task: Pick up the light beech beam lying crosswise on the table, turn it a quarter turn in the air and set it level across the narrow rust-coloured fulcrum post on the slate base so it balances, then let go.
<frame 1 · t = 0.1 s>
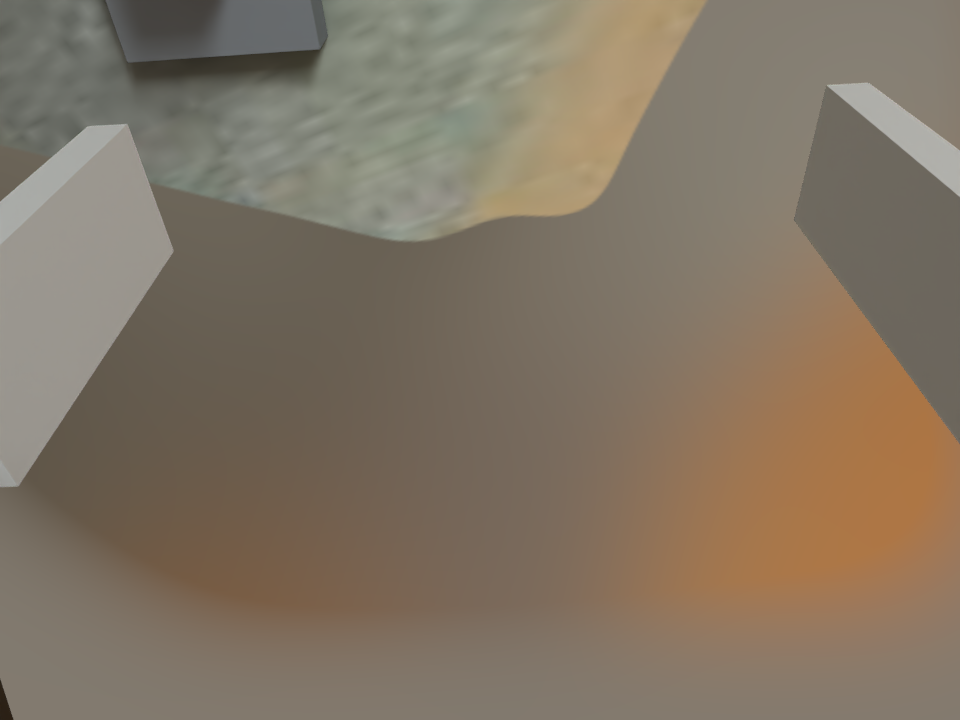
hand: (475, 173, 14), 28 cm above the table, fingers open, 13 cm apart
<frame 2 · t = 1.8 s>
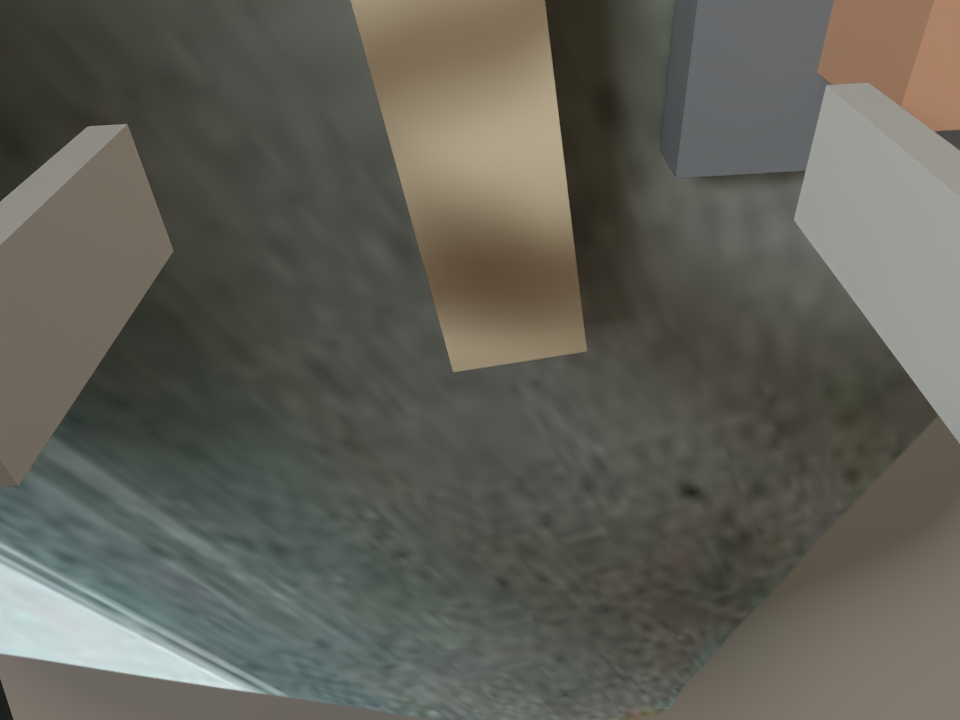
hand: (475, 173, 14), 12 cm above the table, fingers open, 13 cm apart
beam: (459, 11, 24), on the table
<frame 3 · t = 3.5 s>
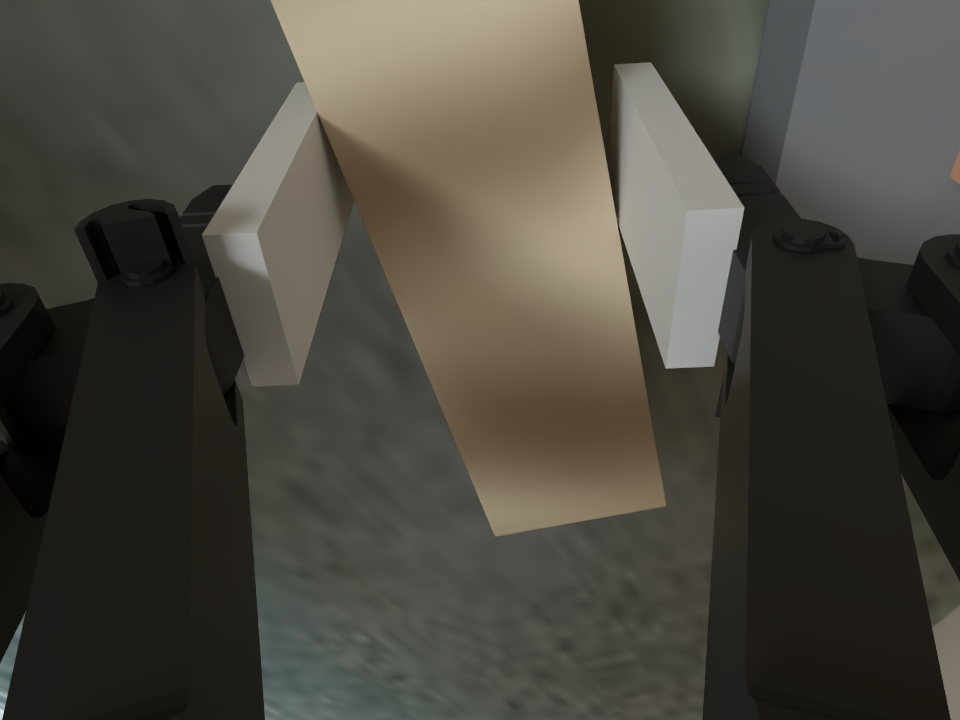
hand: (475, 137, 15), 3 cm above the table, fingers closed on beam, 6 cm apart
beam: (475, 90, 18), on the table, touching gripper
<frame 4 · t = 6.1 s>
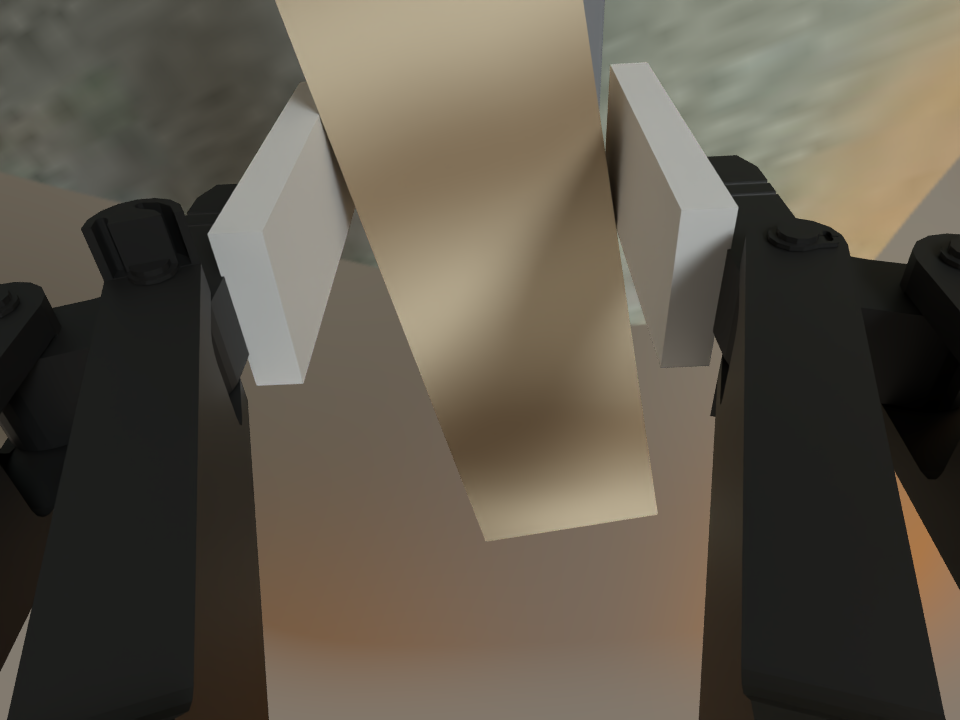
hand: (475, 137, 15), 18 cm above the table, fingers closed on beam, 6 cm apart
beam: (476, 94, 18), point 15 cm above the table, touching gripper
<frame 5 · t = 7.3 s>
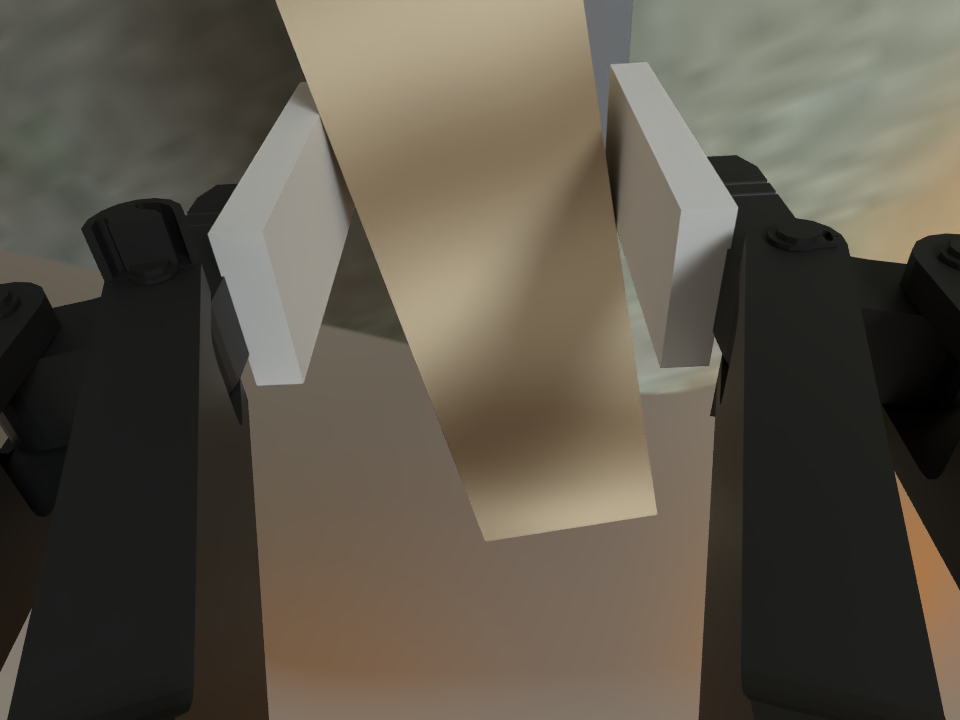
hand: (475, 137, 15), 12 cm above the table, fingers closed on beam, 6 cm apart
fulcrum: (476, 4, 25), on the table
beam: (476, 94, 18), point 9 cm above the table, touching gripper
when the fingers open (12 cm above the table, at t = 8.5 s): beam drops 1 cm, resting on fulcrum.
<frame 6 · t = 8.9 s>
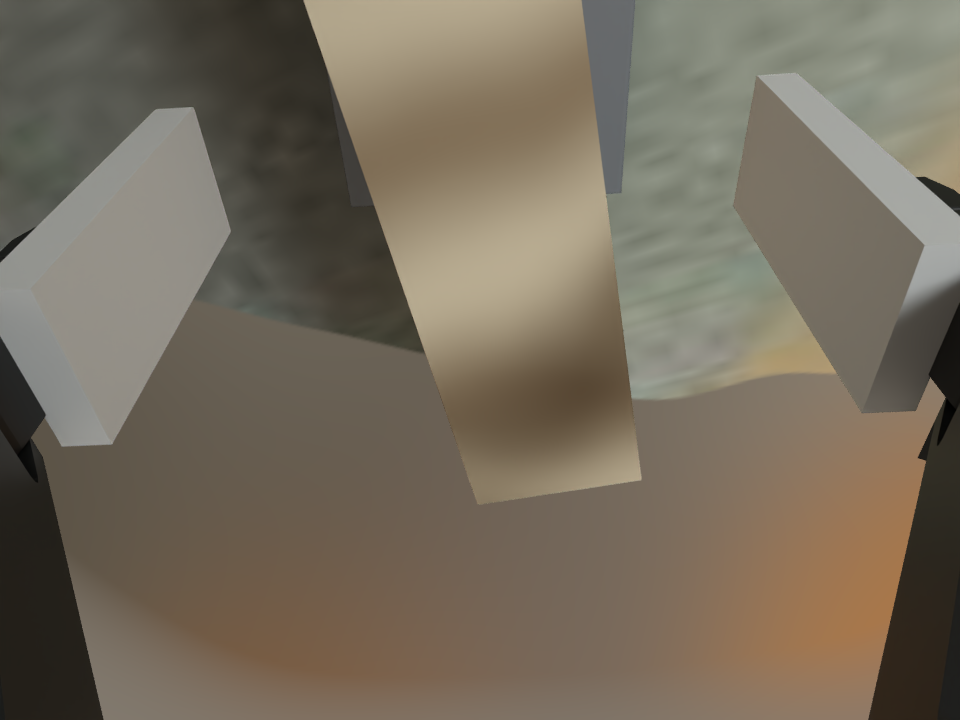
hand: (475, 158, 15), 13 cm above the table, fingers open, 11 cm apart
fulcrum: (476, 7, 25), on the table
beam: (477, 75, 19), point 7 cm above the table, touching fulcrum
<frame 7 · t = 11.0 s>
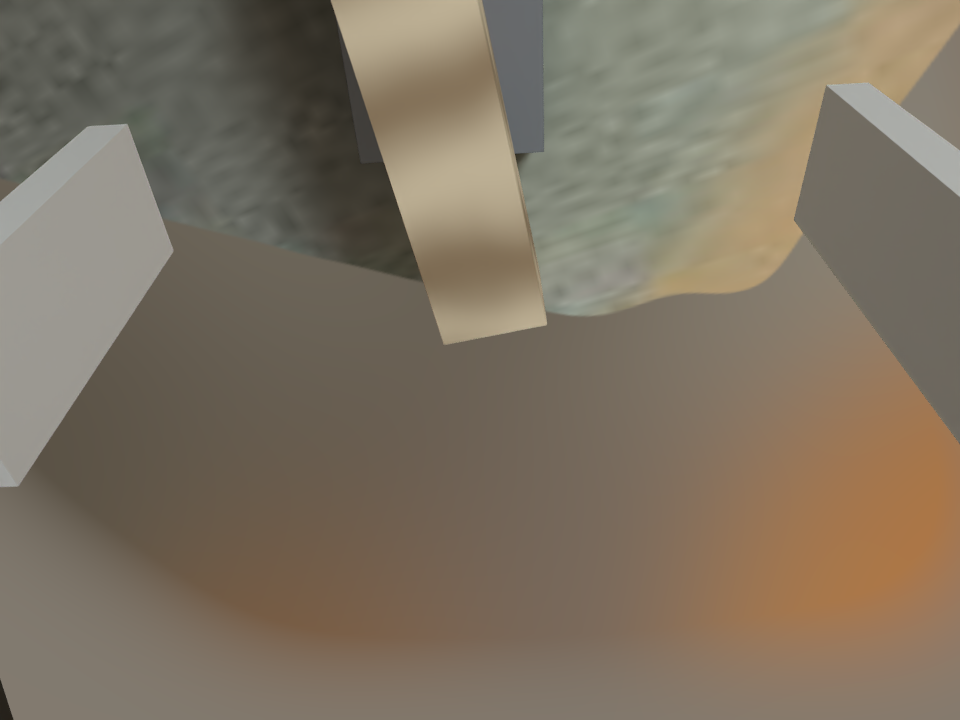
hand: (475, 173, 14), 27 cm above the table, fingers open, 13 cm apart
fulcrum: (443, 28, 37), on the table
beam: (438, 69, 31), point 7 cm above the table, touching fulcrum
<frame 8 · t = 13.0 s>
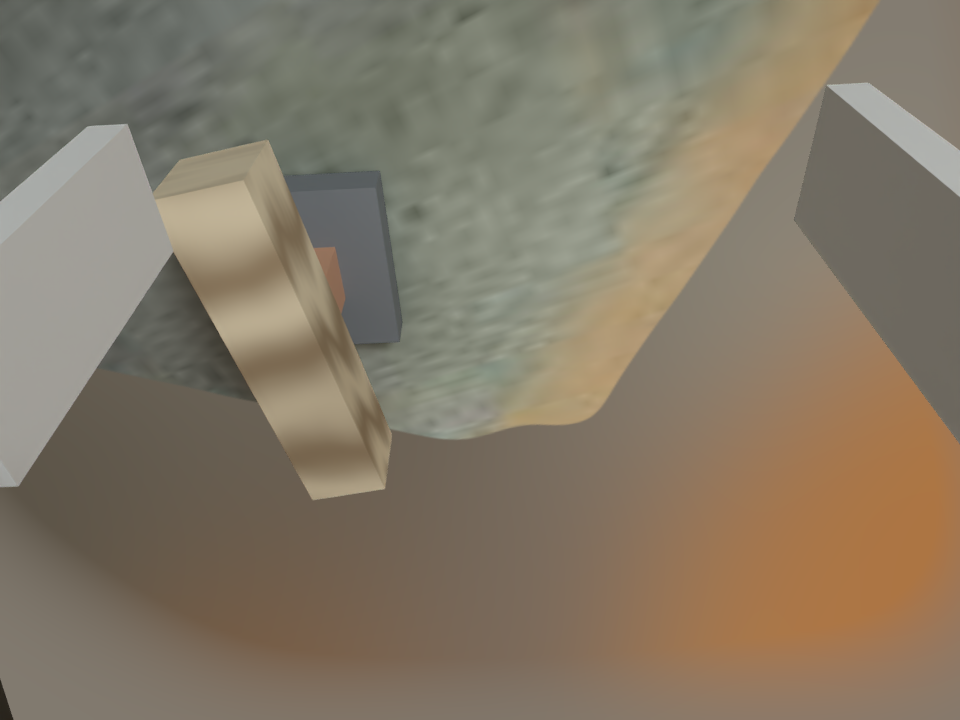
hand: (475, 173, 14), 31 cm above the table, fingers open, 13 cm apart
fulcrum: (321, 255, 50), on the table
beam: (301, 317, 44), point 7 cm above the table, touching fulcrum
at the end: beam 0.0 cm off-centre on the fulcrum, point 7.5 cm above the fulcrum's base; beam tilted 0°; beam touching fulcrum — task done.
